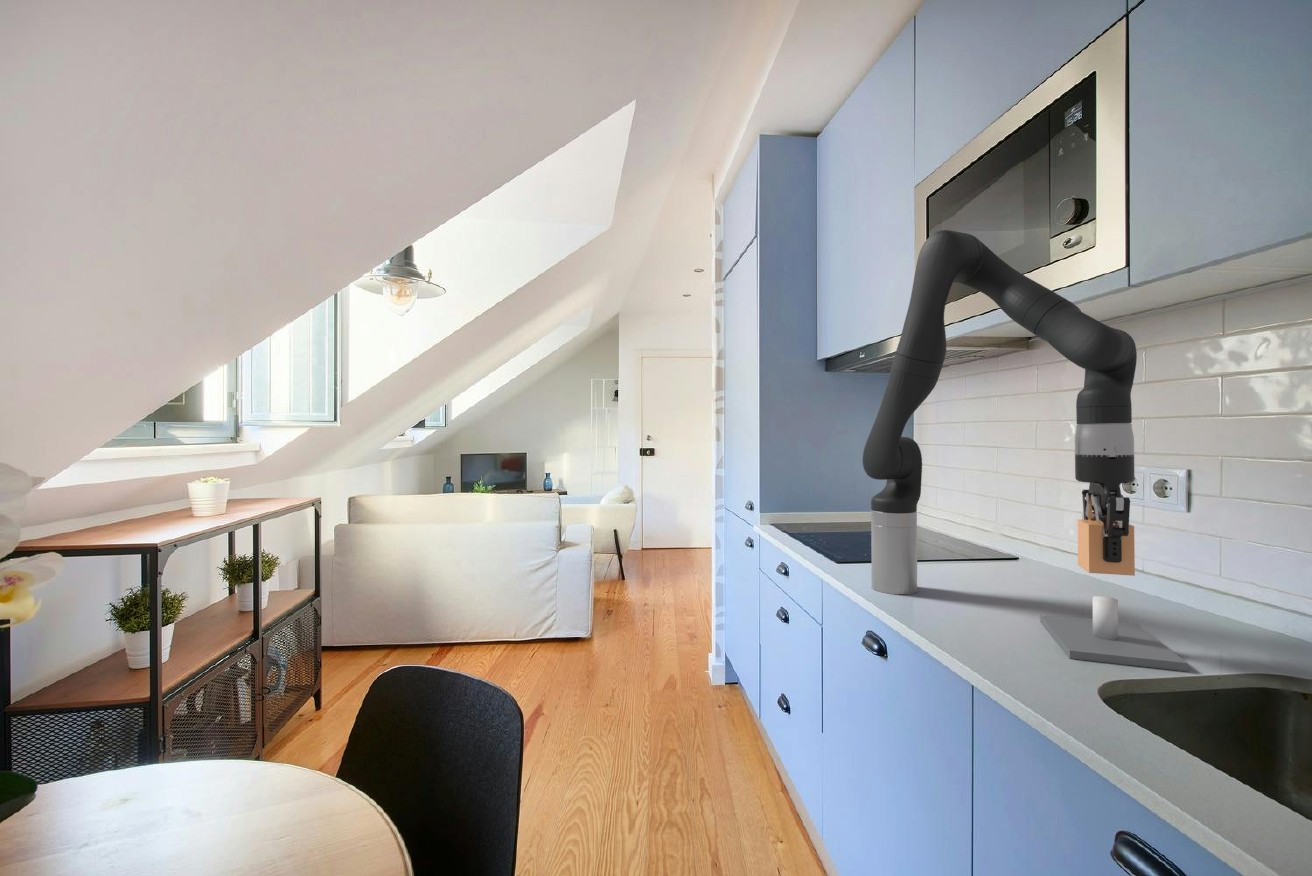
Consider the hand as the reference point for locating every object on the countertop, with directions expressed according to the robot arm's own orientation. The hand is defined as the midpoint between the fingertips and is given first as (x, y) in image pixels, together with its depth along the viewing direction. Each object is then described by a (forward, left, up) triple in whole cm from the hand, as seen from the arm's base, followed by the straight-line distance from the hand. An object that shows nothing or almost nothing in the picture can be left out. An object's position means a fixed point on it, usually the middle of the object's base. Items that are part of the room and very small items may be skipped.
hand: (1105, 557), depth 93 cm
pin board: (0, 0, -14) cm, 14 cm away
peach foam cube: (0, 0, -2) cm, 2 cm away
